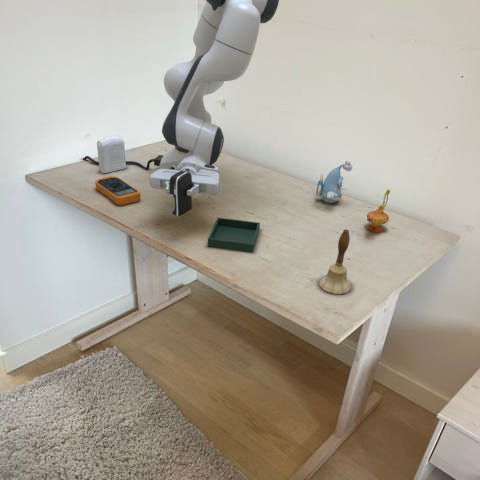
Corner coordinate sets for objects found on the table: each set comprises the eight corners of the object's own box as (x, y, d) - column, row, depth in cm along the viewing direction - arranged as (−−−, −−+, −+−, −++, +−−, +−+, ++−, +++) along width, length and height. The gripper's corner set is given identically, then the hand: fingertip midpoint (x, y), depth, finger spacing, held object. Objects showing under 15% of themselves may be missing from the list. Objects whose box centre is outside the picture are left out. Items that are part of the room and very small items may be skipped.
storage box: (207, 246, 143) (207, 238, 141) (217, 225, 154) (217, 217, 153) (253, 252, 142) (253, 244, 140) (259, 230, 153) (260, 222, 151)
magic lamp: (353, 237, 152) (360, 204, 146) (372, 217, 165) (379, 185, 158) (374, 244, 150) (383, 210, 143) (392, 222, 162) (400, 190, 156)
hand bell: (316, 276, 133) (326, 222, 123) (346, 277, 134) (358, 223, 124) (322, 294, 126) (332, 238, 117) (353, 294, 127) (367, 239, 117)
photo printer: (121, 165, 189) (118, 132, 182) (128, 168, 187) (125, 135, 180) (98, 171, 183) (93, 137, 176) (104, 174, 181) (100, 140, 174)
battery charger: (181, 206, 146) (180, 168, 139) (192, 209, 145) (192, 170, 138) (168, 214, 141) (166, 175, 134) (179, 218, 139) (178, 178, 133)
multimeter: (116, 183, 175) (115, 174, 173) (142, 201, 165) (141, 191, 163) (93, 188, 171) (92, 179, 169) (119, 207, 160) (118, 197, 158)
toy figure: (344, 213, 166) (353, 170, 157) (313, 209, 167) (319, 166, 158) (346, 194, 179) (354, 153, 170) (317, 190, 180) (323, 149, 171)
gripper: (156, 160, 148) (141, 177, 137) (223, 167, 146) (214, 185, 135) (157, 181, 152) (143, 199, 141) (223, 188, 150) (214, 207, 139)
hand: (178, 192), depth 138 cm, fingers closed on battery charger, 4 cm apart
